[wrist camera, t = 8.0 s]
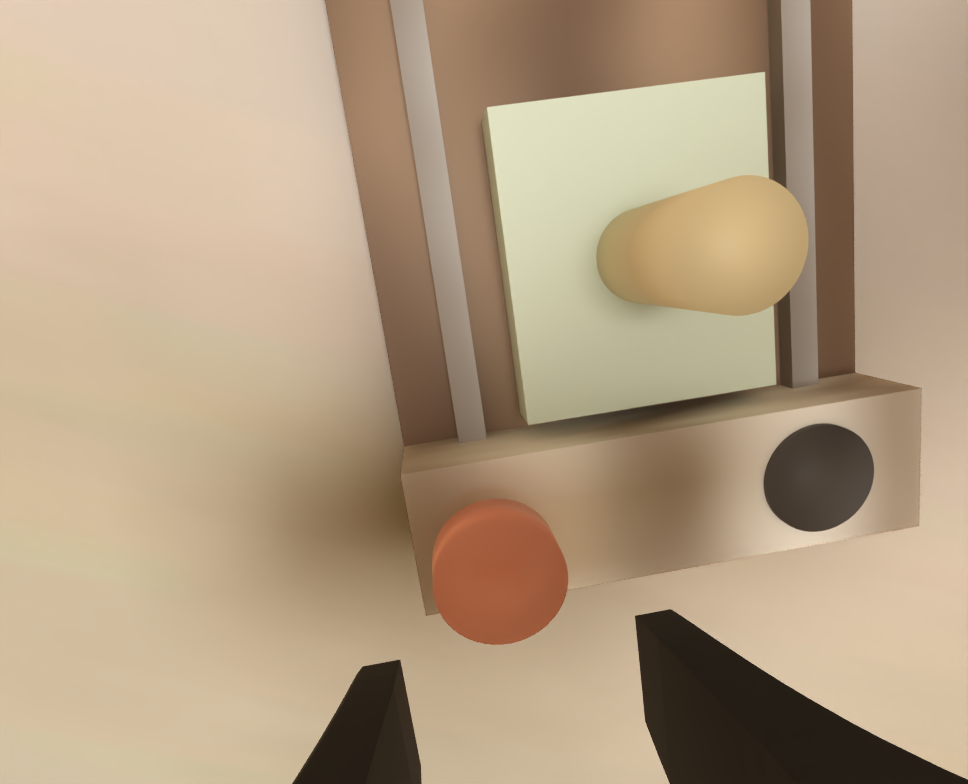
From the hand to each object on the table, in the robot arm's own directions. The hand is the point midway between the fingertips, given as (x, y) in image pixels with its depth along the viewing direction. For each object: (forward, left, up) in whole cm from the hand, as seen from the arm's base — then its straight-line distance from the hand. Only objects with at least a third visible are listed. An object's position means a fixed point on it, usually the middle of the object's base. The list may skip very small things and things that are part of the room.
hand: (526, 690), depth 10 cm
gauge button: (0, 0, -5) cm, 5 cm away
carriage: (-5, -6, -8) cm, 12 cm away
